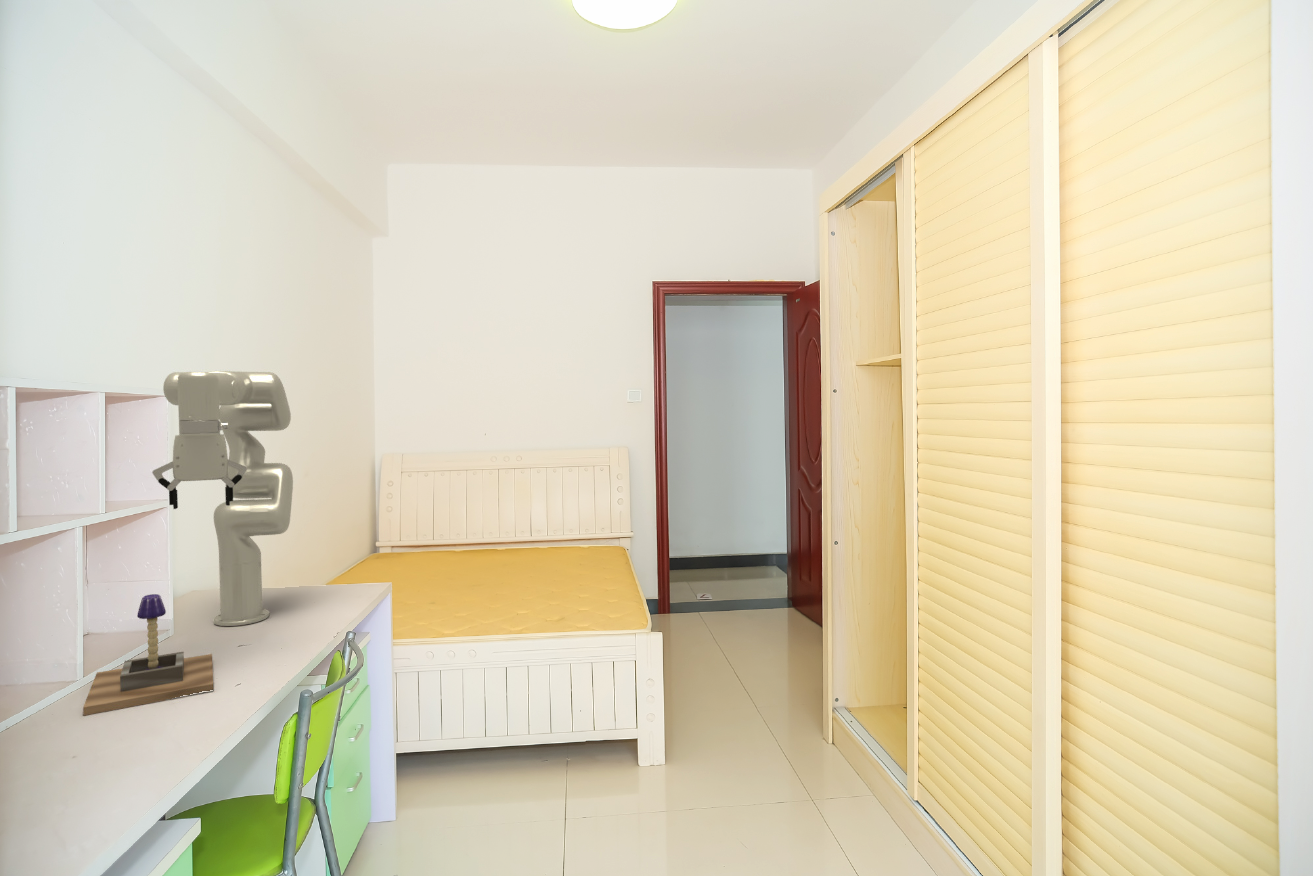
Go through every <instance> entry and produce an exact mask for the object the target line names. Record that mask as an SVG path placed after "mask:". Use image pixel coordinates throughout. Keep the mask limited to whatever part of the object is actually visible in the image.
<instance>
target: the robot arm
mask: <svg viewBox="0 0 1313 876" xmlns="http://www.w3.org/2000/svg"><path fill="white" fill-rule="evenodd" d="M162 388H163V390H162V391H163V393H164V396H165V399H166V400H167V401H168V402H169V404H171V405H173V406H177V408H178V434H176V435H175V436H174V439H173V447H172V448H173V449H172V461H171V462H168V463H166V464H163V465H162V466H160V467H158V468H155V469H153V470H152V472H151V473H152V475H153V476H154V478H155V479H156V481H157V483H159V485H161V486H163V487H164V488H165V489H167V490H168V499H169V506H172V507H173V510H177V509H178V507H179V503H178V498H179V497H178V489H177V487H178V485H179V484H180V483H181V482H196V481H200V482H201V481H215V480H218V481H219V480H221V481H222V482H223V483H224V484H225V487H224V491H225V493H224V495H225V496H224V497H225V501H224V502H221V503H220V504H218V505H217V506H216V507H215V509H214V512H213V523H214V524H213V525H214V528H215V533H216V538H217V545H218V568H219V569H218V570H219V573H218V574H219V575H218V576H219V602H220V603H219V604H220V607H219V609H220V610H219V611H220V614H218V615H216V616H215V617H214V618H213V623H214V625H216V626H221V627H236V626H237V627H238V626H244V625H251V624H254V623H258V622H261V621H263V620H266V619H267V618H269V616H270V611H269V610H268V609H266V608H263V580H262V577H263V576H262V552H261V549H260V547H259V546H258V544H257V543H256V542H255V541H254V540H253V538H252V537H256V536H259V537H260V536H275V535H282V534H284V533H285V532H287V531H288V529H289V527H290V522H291V517H292V515H291V514H292V504H293V503H292V502H293V501H292V500H293V490H294V477H293V473H292V470H291V468H290V467H289V465H288V464H285V463H282V462H267V463H265V461H266V460H265V459H266V458H265V457H266V449H265V447H264V445H263V444H262V443H261V441H259V440H258V439H257V438H256V437H255V436H254V435H252V434H251V433H250V432H252V431H253V432H265V431H266V432H276V431H277V432H278V431H284V430H286V429H287V428H289V426H290V424H291V418H292V416H291V415H292V414H291V410H290V405H289V401H288V398H287V394H286V390H285V387H284V385H283V382H282V380H281V378H280V377H279V376H278V375H277V374H276V373H274V372H271V371H268V372H267V371H233V370H232V371H230V370H229V371H228V370H218V371H217V370H215V371H185V372H184V371H182V372H181V371H180V372H179V371H177V372H176V371H173V372H171V373H169V374H168V375H167V376H166V378H165V380H164V382H163V387H162ZM221 431H222V434H221ZM227 446H228V448H227ZM228 451H229V452H228ZM171 469H172V474H173V475H172V476H173V480H172V481H169V480H168V479H166V478H165V477H164V475H163V473H165V472H167V471H169V470H171ZM234 499H235V500H234Z"/></svg>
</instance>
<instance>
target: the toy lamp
mask: <svg viewBox="0 0 1313 876" xmlns="http://www.w3.org/2000/svg"><path fill="white" fill-rule="evenodd" d="M166 613H167V611H166V607H165V604H164V602H163V599H162V596H161V595H160V594H156V593H155V594H152V593H151V594H146V595H144V596H142V598H141V601H140V605H139V607H138V610H137V618H139V619H141V620H146V622H147V626H146V627H147V631H148V632H147V638H148V639H147V646H148V647H147V652H148V655H147V657H148V660H149V662H148V667H149V668H148V669H146V670H151V669H157V668H163V667H160V666H158V660H157V659H158V655H159V653H158V651H159V646H158V643H159V638H158V636H159V632H158V626H159V625H158V620H159V619H158V618H160V617H163V616H165V615H166Z"/></svg>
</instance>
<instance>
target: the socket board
mask: <svg viewBox="0 0 1313 876" xmlns="http://www.w3.org/2000/svg"><path fill="white" fill-rule="evenodd" d="M184 653H185V652H184V651H178V652H173V653H172V652H170V653H167V654H160V655H159V654H158V659H157V660H158V666H160V667H163V668H157V669H151V670H146V669H148V668H149V667H148V662H149V660H148V656H147V657H141V658H140V657H139V658H134V659H128V660H124V663H123V665H122V668H117V669H109V670H104V671H99V672H98V671H97V672H96V673H95V676H94V679H93V681H92V684H91V686H90V689H89V692H88V695H87V697H86V699H85V701H84V704H83V707H82V711H83V712H82V713H83V716H84V717H85V716H91V715H94V714H99V713H104V712H105V713H106V712H111V711H116V710H120V709H121V710H122V709H126V708H132V707H135V706H137V705H138V706H143V705H147V704H153V703H159V702H163V701H168V700H167V699H170V700H173V699H172V698H175V697H180V696H183V695H190V694H193V693H199V692H202V691H210V690H213V691H214V673H213V672H214V670H213V666H214V665H213V653H209V654H202V655H197V656H191V657H184V655H185V654H184ZM180 698H181V697H180ZM175 699H176V698H175Z"/></svg>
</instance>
